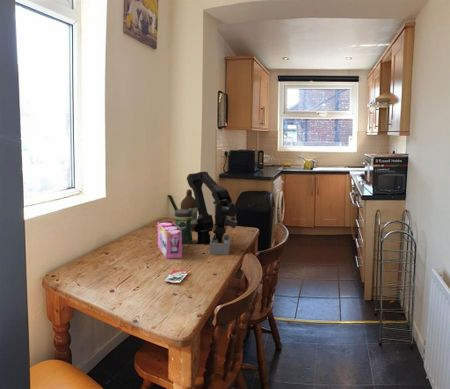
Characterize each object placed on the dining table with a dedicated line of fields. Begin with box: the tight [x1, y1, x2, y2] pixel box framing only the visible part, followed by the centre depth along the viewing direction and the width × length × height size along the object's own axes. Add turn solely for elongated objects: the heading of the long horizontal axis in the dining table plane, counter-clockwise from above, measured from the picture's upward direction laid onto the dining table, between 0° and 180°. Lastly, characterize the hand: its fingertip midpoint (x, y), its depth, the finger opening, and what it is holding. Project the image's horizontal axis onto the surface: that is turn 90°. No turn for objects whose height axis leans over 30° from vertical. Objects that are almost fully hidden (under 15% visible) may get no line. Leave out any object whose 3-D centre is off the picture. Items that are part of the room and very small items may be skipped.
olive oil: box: [180, 188, 198, 232], centre depth 261 cm, size 11×11×25 cm
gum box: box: [157, 220, 183, 259], centre depth 215 cm, size 24×8×14 cm, turn 20°
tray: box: [209, 233, 231, 255], centre depth 221 cm, size 10×18×6 cm, turn 177°
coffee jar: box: [173, 208, 193, 245], centre depth 232 cm, size 10×8×19 cm
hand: (220, 242), depth 221 cm, fingers closed on peg, 3 cm apart
